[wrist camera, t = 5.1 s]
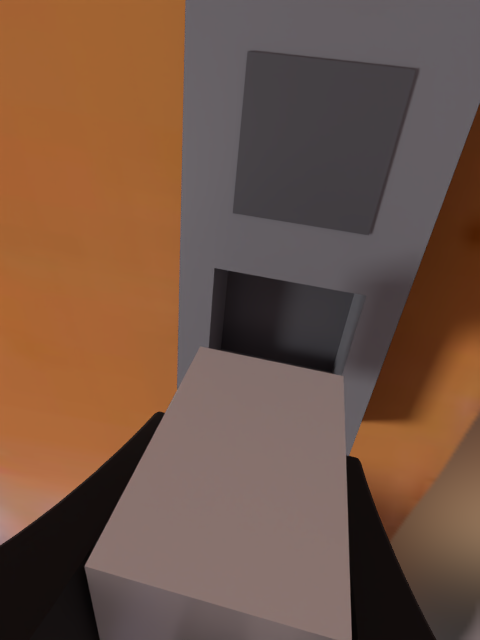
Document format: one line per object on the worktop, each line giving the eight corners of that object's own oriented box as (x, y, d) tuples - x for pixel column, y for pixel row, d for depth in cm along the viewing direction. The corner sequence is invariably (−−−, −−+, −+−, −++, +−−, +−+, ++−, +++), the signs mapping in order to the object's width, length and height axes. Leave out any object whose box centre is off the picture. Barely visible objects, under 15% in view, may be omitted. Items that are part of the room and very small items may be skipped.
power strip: (342, 421, 20) (343, 478, 17) (195, 388, 21) (172, 437, 18) (531, -142, 10) (617, -243, 7) (224, -156, 11) (182, -248, 8)
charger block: (313, 471, 13) (295, 811, 7) (194, 443, 13) (78, 735, 7) (343, 375, 10) (355, 747, 5) (200, 346, 11) (42, 645, 5)
